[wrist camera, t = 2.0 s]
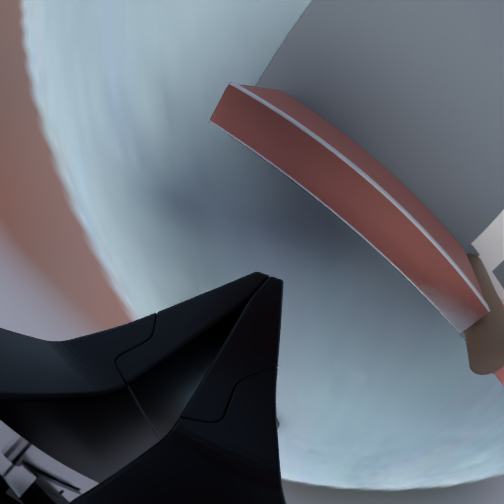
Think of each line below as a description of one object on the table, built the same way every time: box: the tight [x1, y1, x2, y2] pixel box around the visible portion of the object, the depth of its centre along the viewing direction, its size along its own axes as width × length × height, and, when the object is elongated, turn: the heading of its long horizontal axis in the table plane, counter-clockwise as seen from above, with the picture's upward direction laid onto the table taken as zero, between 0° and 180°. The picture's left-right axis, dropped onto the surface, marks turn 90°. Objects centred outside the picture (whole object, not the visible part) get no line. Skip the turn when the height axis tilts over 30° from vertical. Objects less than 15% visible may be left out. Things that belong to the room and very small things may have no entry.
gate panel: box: [209, 82, 490, 334], centre depth 8 cm, size 10×1×4 cm, turn 59°
